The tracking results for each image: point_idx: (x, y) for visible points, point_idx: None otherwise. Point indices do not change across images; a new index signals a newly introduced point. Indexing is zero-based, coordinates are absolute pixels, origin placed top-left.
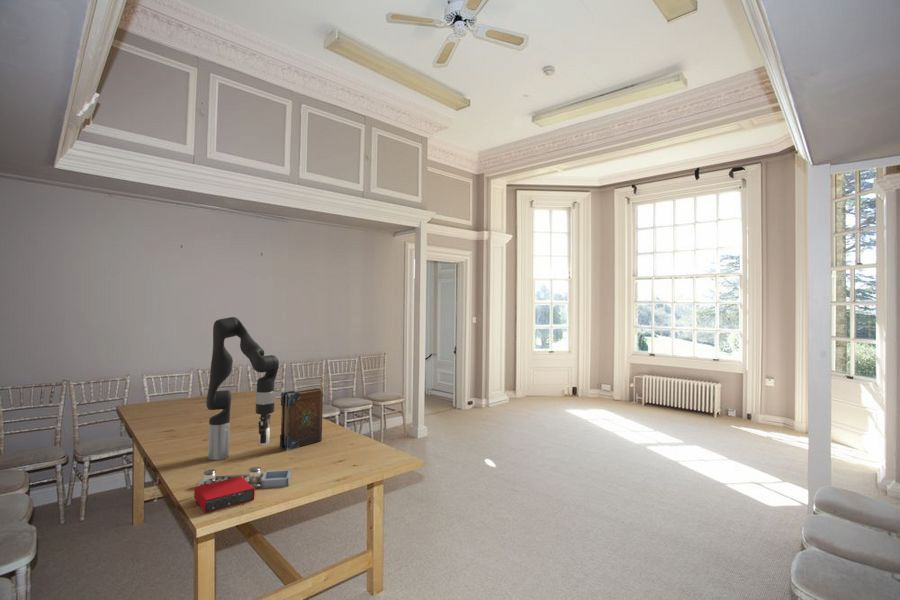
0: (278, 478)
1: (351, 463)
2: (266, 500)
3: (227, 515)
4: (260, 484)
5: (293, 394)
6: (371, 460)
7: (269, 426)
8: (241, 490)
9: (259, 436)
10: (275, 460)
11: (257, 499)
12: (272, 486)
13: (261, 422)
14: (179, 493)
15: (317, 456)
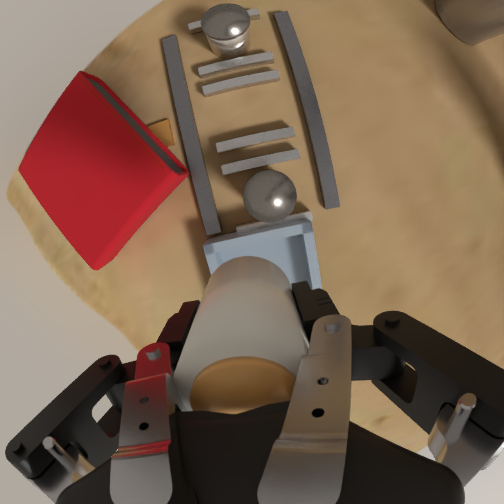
0: (288, 277)
1: (394, 410)
2: (121, 292)
3: (40, 227)
4: (236, 226)
5: None
6: (400, 432)
7: (386, 382)
8: (70, 237)
9: (200, 309)
10: (464, 198)
11: (122, 264)
12: None
13: (28, 470)
14: (158, 8)
15: (468, 318)
